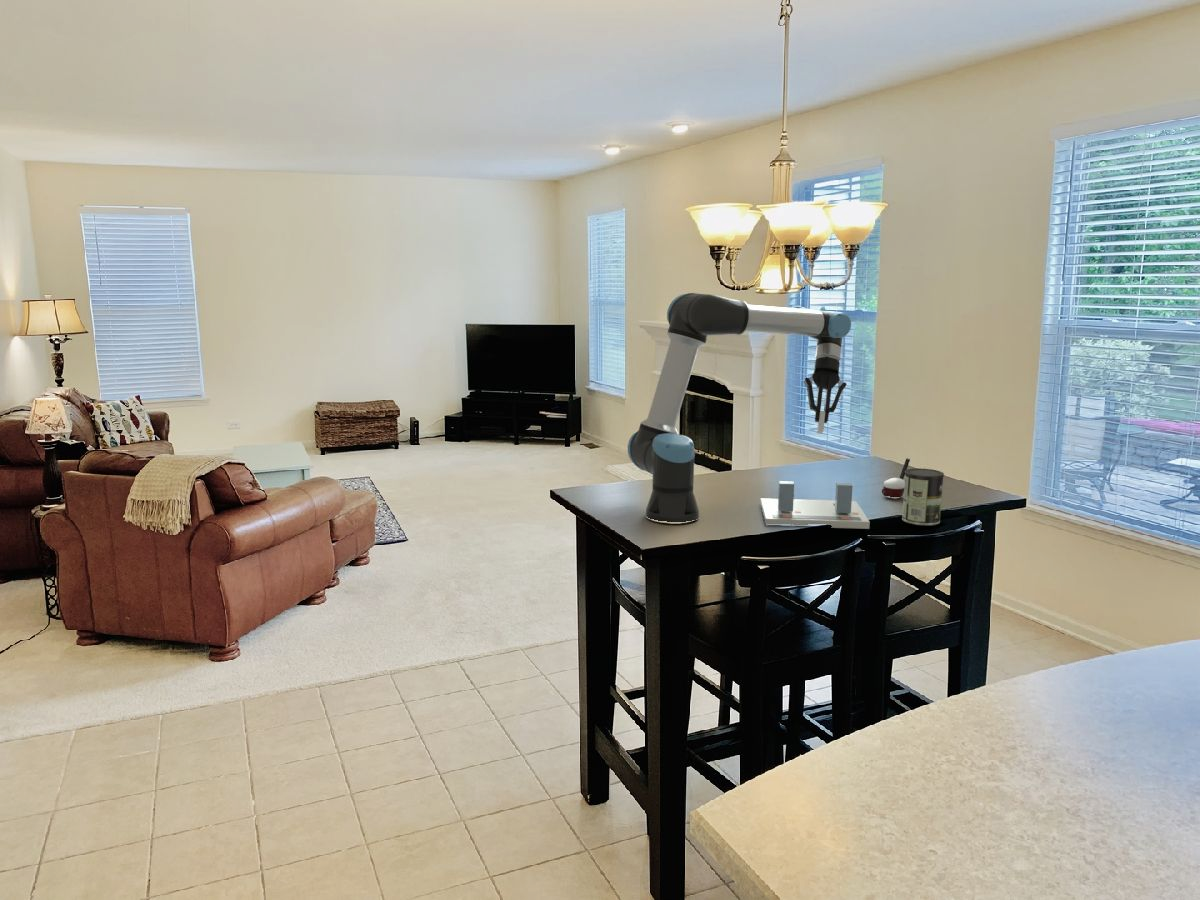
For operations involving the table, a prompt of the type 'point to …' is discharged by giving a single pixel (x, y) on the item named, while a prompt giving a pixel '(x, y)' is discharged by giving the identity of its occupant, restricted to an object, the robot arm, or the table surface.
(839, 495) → the right switch tab
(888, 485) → the cocoa
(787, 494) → the left switch tab
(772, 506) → the switch panel
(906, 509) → the coffee can
